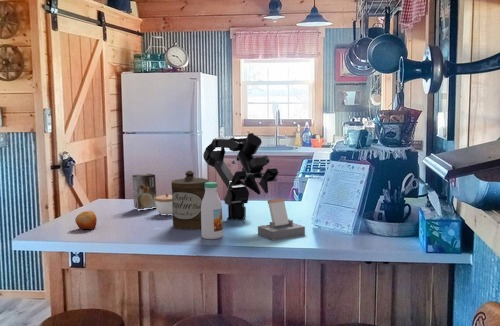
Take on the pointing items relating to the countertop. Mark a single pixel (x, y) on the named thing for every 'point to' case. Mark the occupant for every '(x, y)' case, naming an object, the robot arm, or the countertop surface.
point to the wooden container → (187, 201)
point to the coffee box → (144, 191)
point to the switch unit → (281, 230)
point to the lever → (278, 212)
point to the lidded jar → (164, 204)
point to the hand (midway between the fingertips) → (263, 193)
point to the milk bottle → (211, 213)
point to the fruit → (86, 220)
